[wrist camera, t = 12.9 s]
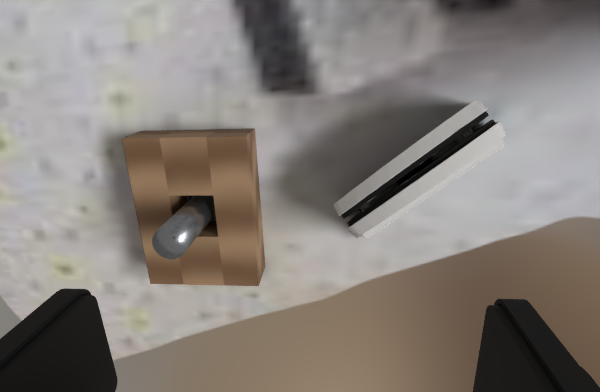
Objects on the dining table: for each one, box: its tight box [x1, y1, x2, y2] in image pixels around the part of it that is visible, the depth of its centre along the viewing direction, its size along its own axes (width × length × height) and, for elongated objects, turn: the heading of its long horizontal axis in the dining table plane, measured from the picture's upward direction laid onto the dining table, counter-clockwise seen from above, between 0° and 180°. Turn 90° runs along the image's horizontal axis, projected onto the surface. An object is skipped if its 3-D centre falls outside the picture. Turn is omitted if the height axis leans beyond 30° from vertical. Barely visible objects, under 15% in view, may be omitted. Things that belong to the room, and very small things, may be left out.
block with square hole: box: [122, 129, 265, 286], centre depth 39 cm, size 16×12×4 cm
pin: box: [152, 195, 215, 259], centre depth 37 cm, size 3×3×10 cm
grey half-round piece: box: [334, 99, 506, 239], centre depth 34 cm, size 17×5×10 cm, turn 130°
